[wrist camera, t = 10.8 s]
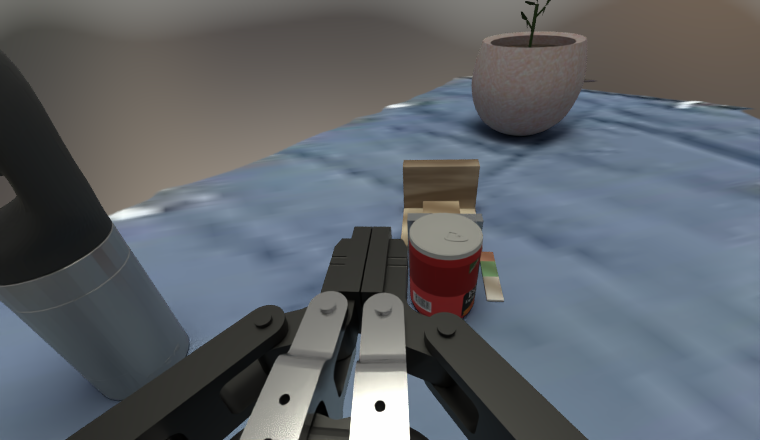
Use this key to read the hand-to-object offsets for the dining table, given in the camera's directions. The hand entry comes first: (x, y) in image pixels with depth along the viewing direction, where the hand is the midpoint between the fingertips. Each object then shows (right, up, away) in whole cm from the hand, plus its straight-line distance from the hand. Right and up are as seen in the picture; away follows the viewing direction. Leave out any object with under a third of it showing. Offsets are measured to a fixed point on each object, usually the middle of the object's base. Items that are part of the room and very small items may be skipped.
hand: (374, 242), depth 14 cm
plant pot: (+35, +24, +71) cm, 83 cm away
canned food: (+8, -9, +29) cm, 31 cm away
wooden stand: (+10, -3, +37) cm, 39 cm away
